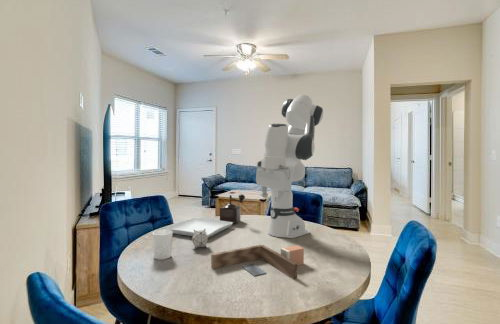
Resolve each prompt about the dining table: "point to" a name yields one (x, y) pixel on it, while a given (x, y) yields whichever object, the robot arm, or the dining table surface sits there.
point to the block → (294, 254)
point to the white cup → (162, 244)
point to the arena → (253, 254)
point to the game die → (200, 238)
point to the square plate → (199, 226)
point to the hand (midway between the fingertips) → (271, 199)
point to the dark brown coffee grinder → (231, 211)
